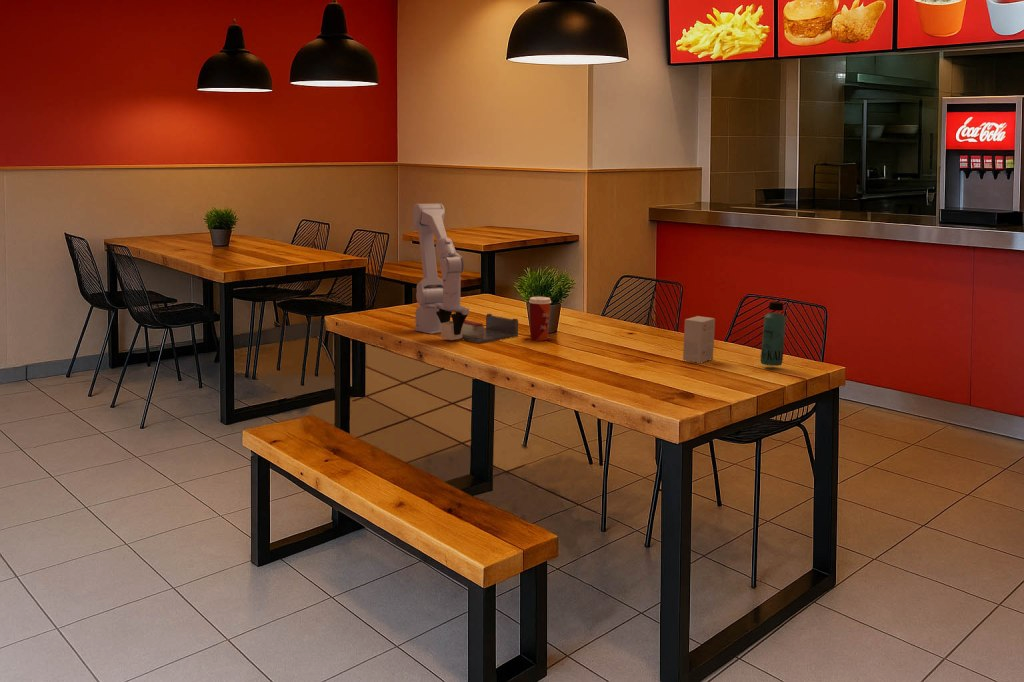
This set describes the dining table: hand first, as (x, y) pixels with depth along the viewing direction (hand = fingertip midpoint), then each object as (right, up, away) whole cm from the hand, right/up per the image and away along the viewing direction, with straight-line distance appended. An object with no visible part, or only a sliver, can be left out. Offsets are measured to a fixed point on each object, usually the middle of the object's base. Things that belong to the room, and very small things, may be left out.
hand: (451, 333), depth 307 cm
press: (+11, -1, +7) cm, 13 cm away
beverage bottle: (+97, -11, -31) cm, 103 cm away
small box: (+77, -9, -22) cm, 81 cm away
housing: (0, -2, 0) cm, 2 cm away
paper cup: (+29, -2, +5) cm, 30 cm away
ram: (+7, -1, +3) cm, 7 cm away
